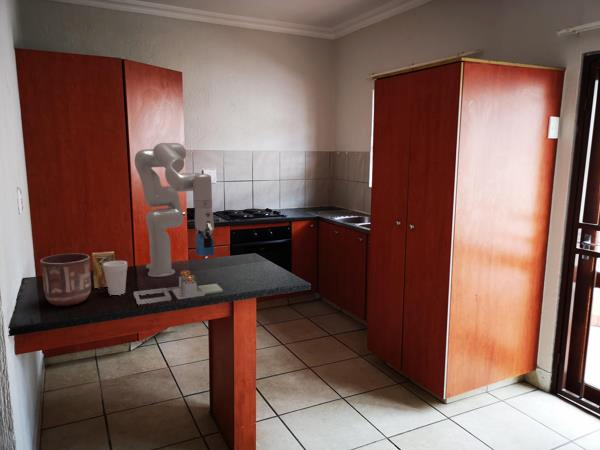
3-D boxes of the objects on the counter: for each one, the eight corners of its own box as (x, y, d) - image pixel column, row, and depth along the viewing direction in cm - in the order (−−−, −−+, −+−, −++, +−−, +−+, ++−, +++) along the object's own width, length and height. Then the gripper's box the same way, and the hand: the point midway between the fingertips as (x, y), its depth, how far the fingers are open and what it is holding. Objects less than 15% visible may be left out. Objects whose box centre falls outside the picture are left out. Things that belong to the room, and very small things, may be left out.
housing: (137, 304, 180) (136, 290, 179) (133, 294, 192) (132, 281, 192) (204, 295, 191) (204, 282, 190) (196, 286, 204) (196, 273, 203)
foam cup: (114, 298, 188) (112, 267, 186) (100, 294, 192) (98, 264, 190) (133, 292, 196) (132, 262, 193) (119, 288, 200) (117, 259, 198)
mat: (199, 294, 192) (199, 292, 192) (194, 288, 201) (194, 286, 201) (222, 291, 197) (222, 289, 197) (216, 285, 206) (216, 283, 205)
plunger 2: (186, 294, 188) (185, 278, 187) (184, 291, 192) (183, 275, 191) (195, 293, 190) (195, 276, 189) (193, 290, 193) (193, 274, 192)
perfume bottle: (214, 254, 195) (213, 226, 193) (199, 255, 192) (198, 227, 190) (210, 251, 200) (209, 224, 198) (195, 252, 197) (194, 225, 195)
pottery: (40, 312, 172) (37, 265, 169) (45, 298, 188) (42, 255, 185) (92, 306, 179) (90, 261, 176) (93, 293, 195) (90, 251, 192)
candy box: (116, 284, 207) (114, 251, 204) (116, 287, 203) (113, 253, 200) (94, 286, 204) (92, 252, 201) (94, 289, 200) (91, 254, 197)
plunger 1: (182, 289, 195) (181, 273, 194) (180, 286, 199) (179, 271, 198) (191, 288, 197) (190, 272, 196) (189, 285, 201) (188, 270, 199)
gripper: (220, 205, 187) (221, 248, 190) (203, 201, 202) (204, 241, 204) (202, 206, 183) (204, 250, 186) (186, 202, 197) (188, 243, 200)
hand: (204, 245), depth 195 cm, fingers closed on perfume bottle, 6 cm apart
